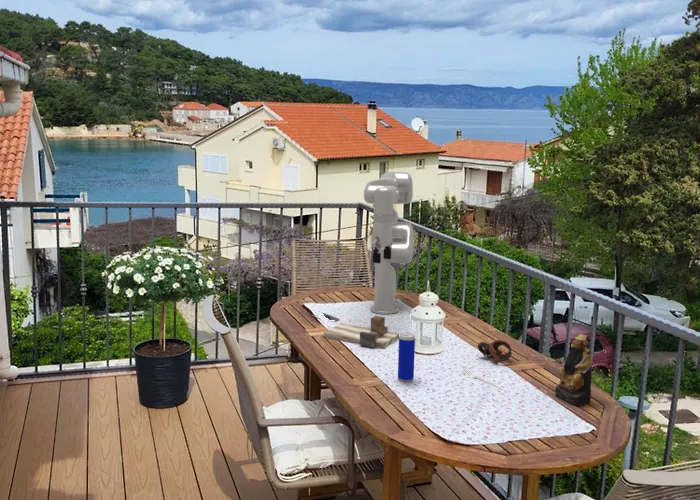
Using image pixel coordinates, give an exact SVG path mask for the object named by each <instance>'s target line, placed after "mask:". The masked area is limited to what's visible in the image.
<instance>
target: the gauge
mask: <svg viewBox="0 0 700 500" xmlns="http://www.w3.org/2000/svg"><path fill="white" fill-rule="evenodd" d="M385 320H386V317H385V316H378V315H374V316H372V317H370V329H371V332H369V333H368V332H360V344H359V345H360V346H364V347H369V348H377V347H376V339H377V338H378V337H380V336H381V335H383V334H385V333H386V332H389V329H388V327H389V326H385V323H386V321H385Z"/></svg>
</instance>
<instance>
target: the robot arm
mask: <svg viewBox="0 0 700 500" xmlns="http://www.w3.org/2000/svg"><path fill="white" fill-rule="evenodd" d="M413 185H414V184H413V178H412V176H411V174H410V173H409V172H405V171H403V172H402V171H396V172H395V171H386V172H384V173H382V174H381V175H380V177H379V179H373V180H369V181H368V182H367V183H366V185H365V187H364V189H363V190H364V191H363V200H364V201H365V202H366V203H367V204H370V205H371V204H372V205H373V226H372V232H371V250H372V263H374V290H373V293H374V295H373V296H374V299H373V301H374V302H373V305H372V306H370V311H371V312H372V313H375V314H380V315H390V314H396V313H398V312H399V307H398V306H396V303H398V299H397V298H396V293H397V292H396V289H397V272H396V269H395V268H394V267H393V264H410V263H411V262H412V261H413V255H414V236H415V235H414V226H413V224H412V223H410V222H406V221H398V220H399V219H398V218H399V215H398V212H397V211H396V209H394V205H395V204H396V205H397V204H399V205H402V204H403V205H407V204H410V203H411V202H412V201H413V198H414V197H413V196H414V193H413V192H414V190H413V188H414V186H413Z"/></svg>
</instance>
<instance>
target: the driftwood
mask: <svg viewBox="0 0 700 500" xmlns="http://www.w3.org/2000/svg"><path fill="white" fill-rule="evenodd" d="M300 313H302V314H305V315H307V316H311V317H314V318H315V319H317V318H316V317H317V316H315V314H310V313H309V312H305V311H304V310H300ZM322 313H323V314H324V316H325V317H326V318H328V319H329V320H335V322H337V321H339V320H338V319H339V318H338V317H336V316H333V315H330V314H327V313H326V312H325V313H324V312H322Z"/></svg>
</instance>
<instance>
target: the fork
mask: <svg viewBox="0 0 700 500" xmlns="http://www.w3.org/2000/svg"><path fill="white" fill-rule="evenodd" d="M461 370H462V372H463V374H464V375H465V376H466V377H468V378H471V379H478V380H479V381H482V382H484V383H485V384H487V385H490V386H493V387H495V388H497V389H500V390H501V391H504V392H506V393H509V392H510V391H509V390H507V389H505V388H503V387H502V386H499V385H498V384H496V383H494V382H492V381H490V380H488V379H486V378H484V377H482V376H479V375H477V374H475V373H473V372H472V371H471V369H469V368H468V367H467V366H465V367H462V368H461Z"/></svg>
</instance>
